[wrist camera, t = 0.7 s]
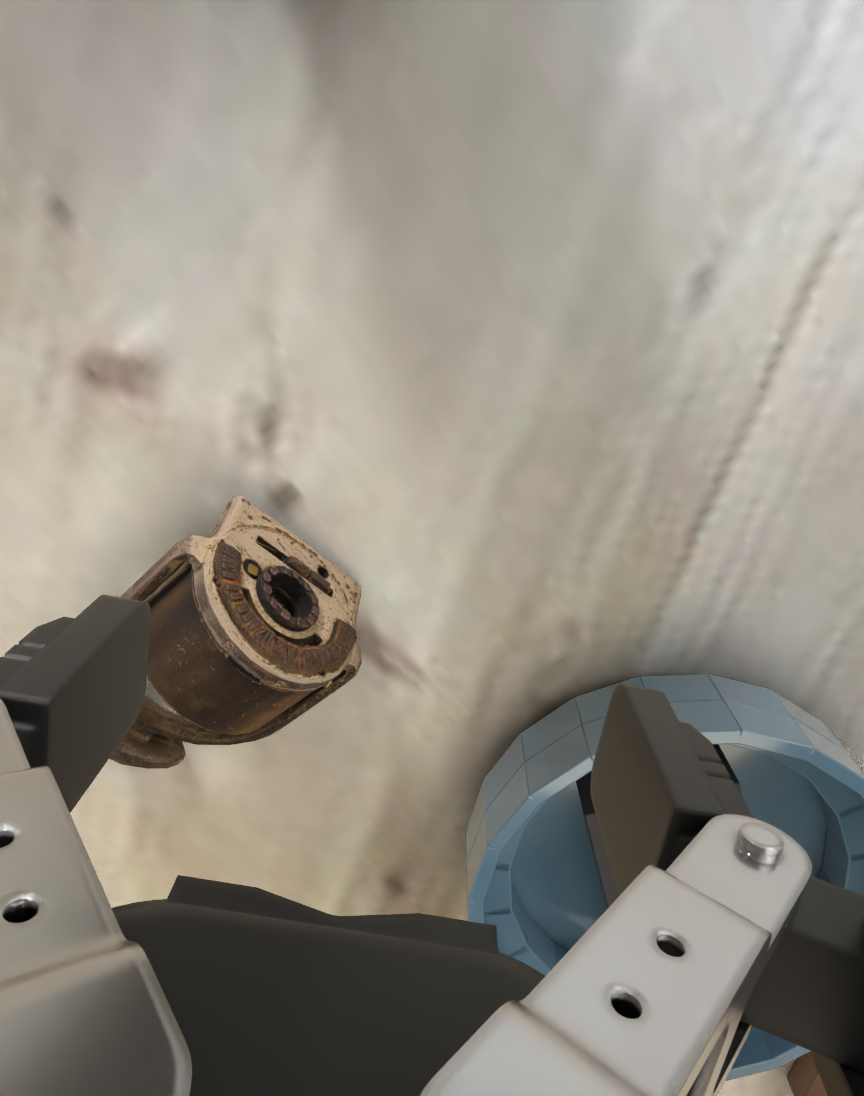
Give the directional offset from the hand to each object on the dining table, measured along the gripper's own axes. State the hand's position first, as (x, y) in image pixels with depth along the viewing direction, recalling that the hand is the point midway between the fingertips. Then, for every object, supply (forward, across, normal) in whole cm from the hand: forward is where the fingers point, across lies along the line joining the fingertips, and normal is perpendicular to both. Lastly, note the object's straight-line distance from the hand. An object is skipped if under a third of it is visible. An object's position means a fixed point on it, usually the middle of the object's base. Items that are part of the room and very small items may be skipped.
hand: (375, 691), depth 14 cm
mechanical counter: (+18, +7, +8) cm, 21 cm away
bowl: (+18, -14, +15) cm, 27 cm away
